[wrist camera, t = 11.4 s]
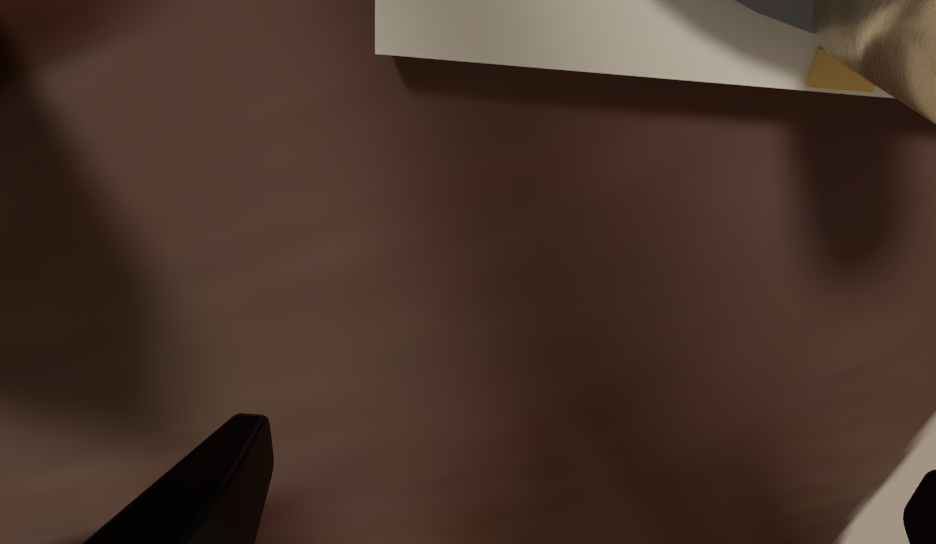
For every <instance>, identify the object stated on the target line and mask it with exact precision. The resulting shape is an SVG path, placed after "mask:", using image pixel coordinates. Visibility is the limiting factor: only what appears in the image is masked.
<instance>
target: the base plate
mask: <svg viewBox="0 0 936 544" xmlns="http://www.w3.org/2000/svg"><path fill="white" fill-rule="evenodd" d="M375 54H381V55H393V56H405V57H417V58H428V59H440V60H452V61H463V62H475V63H487V64H499V65H510V66H522V67H534V68H545V69H557V70H569V71H580V72H592V73H604V74H616V75H627V76H639V77H651V78H662V79H674V80H686V81H697V82H709V83H721V84H733V85H744V86H756V87H768V88H779V89H791V90H803V91H815V92H826V93H838V94H850V95H861V96H873V97H885V98H894V97H893V96H891V95H889V94H888V93H886V92H885V91H883V90H882V89H880V88H879V87H877V86H875V85H874V84H872V83H871V82H869V81H868V80H866V79H864V78H863V77H861V76H860V75H858V74H857V73H855V72H854V71H852V70H850V69H849V68H847V67H846V66H844V65H843V64H841V63H840V62H838V61H836V60H835V59H833V58H832V57H831V56H830V55H829V54H827V52H826V51H825V50H824V49H823V48H822V46H821V45H820V43H819V41H818V39H817V37H816V34H814V33H810V32H807V31H804V30H802V29H799V28H796V27H794V26H791V25H788V24H786V23H783V22H780V21H778V20H775V19H772V18H770V17H767V16H765V15H762V14H759V13H757V12H755V11H753V10H751V9H749V8H748V7H746V6H744V5H742V4H741V3H739V2H737V1H735V0H375Z"/></svg>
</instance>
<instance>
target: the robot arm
mask: <svg viewBox="0 0 936 544" xmlns="http://www.w3.org/2000/svg"><path fill="white" fill-rule="evenodd" d="M273 465H274V455H273V447H272V438H271V430H270V423H269V420H268V418H267V417H266V416H264V415H258V414H245V413H239V414H236V415H234V416H233V417H232V418H230V419H229V420H228V421H227V422H226V423H224V424H223V425H222V426H221V427H220V428H219V429H217V430H216V431H215V432H214V433H213V434H211V435H210V436H209V437H208V438H207V439H205V440H204V441H203V442H202V443H201V444H200V445H198V446H197V447H196V448H195V449H194V450H192V451H191V452H190V453H189V454H188V455H187V456H185V457H184V458H183V459H182V460H181V461H179V462H178V463H177V464H176V465H175V466H173V467H172V468H171V469H170V470H169V471H168V472H166V473H165V474H164V475H163V476H162V477H160V478H159V479H158V480H157V481H156V482H155V483H153V484H152V485H151V486H150V487H149V488H147V489H146V490H145V491H144V492H143V493H142V494H140V495H139V496H138V497H137V498H136V499H134V500H133V501H132V502H131V503H130V504H128V505H127V506H126V507H125V508H124V509H123V510H121V511H120V512H119V513H118V514H117V515H115V516H114V517H113V518H112V519H111V520H110V521H108V522H107V523H106V524H105V525H104V526H102V527H101V528H100V529H99V530H98V531H96V532H95V533H94V534H93V535H92V536H91V537H89V538H88V539H87V540H86V541H85V542H83V543H82V544H255V541H256V537H257V533H258V529H259V525H260V521H261V517H262V513H263V509H264V505H265V501H266V497H267V493H268V489H269V485H270V481H271V477H272V472H273ZM903 520H904V526H905V530H906V533H907V536H908V539H909V542H910V544H936V470H932V471H930V472H928V473H927V474H926V475H925V476H924V478H923V479H922V481H921V482H920V484H919V486H918V487H917V489H916V491H915V492H914V494H913V495H912V497H911V499H910V500H909V502H908V503H907V505H906V507H905V509H904V516H903Z"/></svg>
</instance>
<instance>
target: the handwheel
mask: <svg viewBox="0 0 936 544" xmlns="http://www.w3.org/2000/svg"><path fill="white" fill-rule="evenodd" d="M735 1H737V2H739V3H741V4H742V5H744V6H746V7H748V8H749V9H751V10H753V11H755V12H757V13H759V14H762V15H765V16H767V17H770V18H772V19H775V20H778V21H780V22H783V23H786V24H788V25H791V26H794V27H796V28H799V29H802V30H804V31H807V32H810V33H814V34H816V37H817V39H818V41H819V43H820V45H821V46H822V48H823V49H824V50H825V51H826V52H827V54H829V55H830V56H831V57H832V58H833V59H835V60H836V61H838V62H840V63H841V64H843V65H844V66H846V67H847V68H849V69H850V70H852V71H854V72H855V73H857V74H858V75H860V76H861V77H863V78H864V79H866V80H868V81H869V82H871V83H872V84H874V85H875V86H877V87H879V88H880V89H882V90H883V91H885V92H886V93H888V94H889V95H891V96H893V97H894V98H896V99H897V100H899V101H900V102H902V103H903V104H905V105H907V106H908V107H910V108H911V109H913V110H914V111H916V112H917V113H919V114H921V115H922V116H924V117H925V118H927V119H928V120H930V121H931V122H933V123H935V124H936V0H735Z"/></svg>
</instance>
